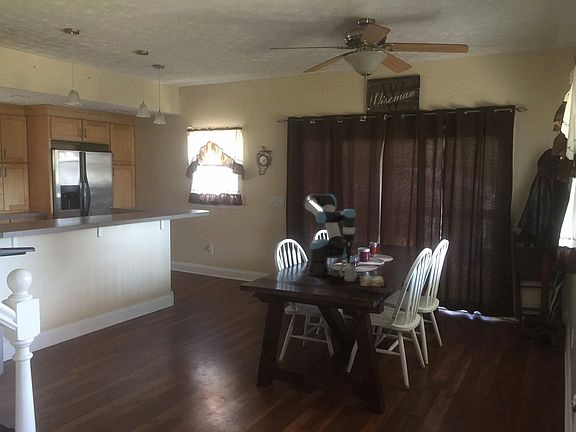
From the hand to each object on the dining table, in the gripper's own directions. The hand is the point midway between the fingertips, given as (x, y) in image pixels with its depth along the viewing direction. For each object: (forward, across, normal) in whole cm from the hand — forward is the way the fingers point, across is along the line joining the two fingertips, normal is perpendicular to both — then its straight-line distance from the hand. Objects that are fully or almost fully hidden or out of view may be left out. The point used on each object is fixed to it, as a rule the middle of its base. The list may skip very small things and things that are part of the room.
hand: (347, 266), depth 308 cm
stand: (+9, -7, -15) cm, 19 cm away
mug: (+9, 0, 0) cm, 9 cm away
